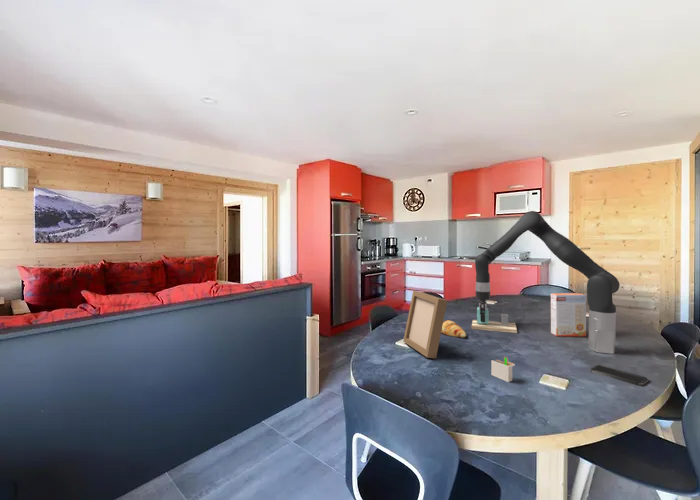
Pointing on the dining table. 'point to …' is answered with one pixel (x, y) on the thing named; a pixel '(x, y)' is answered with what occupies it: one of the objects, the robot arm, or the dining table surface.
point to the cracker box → (568, 314)
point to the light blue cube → (485, 316)
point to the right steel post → (504, 320)
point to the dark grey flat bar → (620, 375)
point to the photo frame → (425, 323)
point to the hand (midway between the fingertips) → (482, 320)
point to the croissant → (452, 329)
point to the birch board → (495, 326)
